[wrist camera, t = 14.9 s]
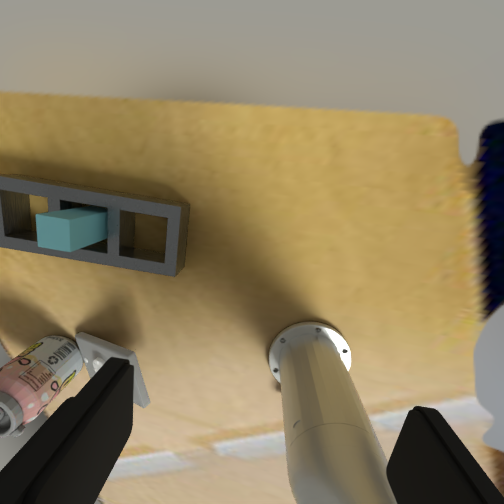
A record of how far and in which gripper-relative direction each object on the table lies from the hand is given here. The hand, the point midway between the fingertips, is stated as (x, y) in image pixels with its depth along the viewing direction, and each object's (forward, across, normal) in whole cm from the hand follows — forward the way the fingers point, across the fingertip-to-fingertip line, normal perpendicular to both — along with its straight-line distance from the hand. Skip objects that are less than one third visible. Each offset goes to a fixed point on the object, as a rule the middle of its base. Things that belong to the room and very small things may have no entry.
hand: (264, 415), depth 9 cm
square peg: (+28, +23, +1) cm, 36 cm away
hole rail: (+28, +23, +1) cm, 36 cm away
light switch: (+28, +20, +22) cm, 41 cm away
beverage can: (+28, +30, +25) cm, 49 cm away
